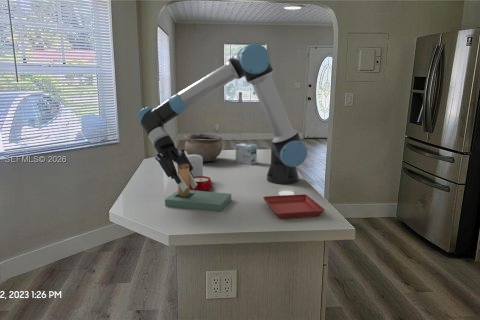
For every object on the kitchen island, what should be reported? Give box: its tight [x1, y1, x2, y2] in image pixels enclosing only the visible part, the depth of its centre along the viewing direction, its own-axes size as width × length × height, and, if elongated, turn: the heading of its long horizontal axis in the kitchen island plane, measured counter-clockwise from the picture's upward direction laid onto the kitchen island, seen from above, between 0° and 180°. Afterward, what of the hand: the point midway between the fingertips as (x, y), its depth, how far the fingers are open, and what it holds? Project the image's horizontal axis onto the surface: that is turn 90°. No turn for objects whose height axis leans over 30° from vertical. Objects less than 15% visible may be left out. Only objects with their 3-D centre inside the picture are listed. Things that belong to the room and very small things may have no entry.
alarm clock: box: [189, 175, 213, 192], centre depth 163 cm, size 10×6×15 cm
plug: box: [177, 164, 190, 196], centre depth 144 cm, size 4×4×12 cm
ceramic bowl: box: [184, 132, 224, 163], centre depth 217 cm, size 22×22×15 cm
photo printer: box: [186, 154, 204, 177], centre depth 175 cm, size 10×4×12 cm, turn 123°
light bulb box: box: [235, 142, 258, 165], centre depth 213 cm, size 11×7×11 cm, turn 58°
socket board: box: [164, 190, 232, 212], centre depth 144 cm, size 22×14×2 cm, turn 75°
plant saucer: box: [262, 193, 326, 219], centre depth 137 cm, size 18×18×3 cm
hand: (190, 188), depth 142 cm, fingers closed on plug, 4 cm apart
